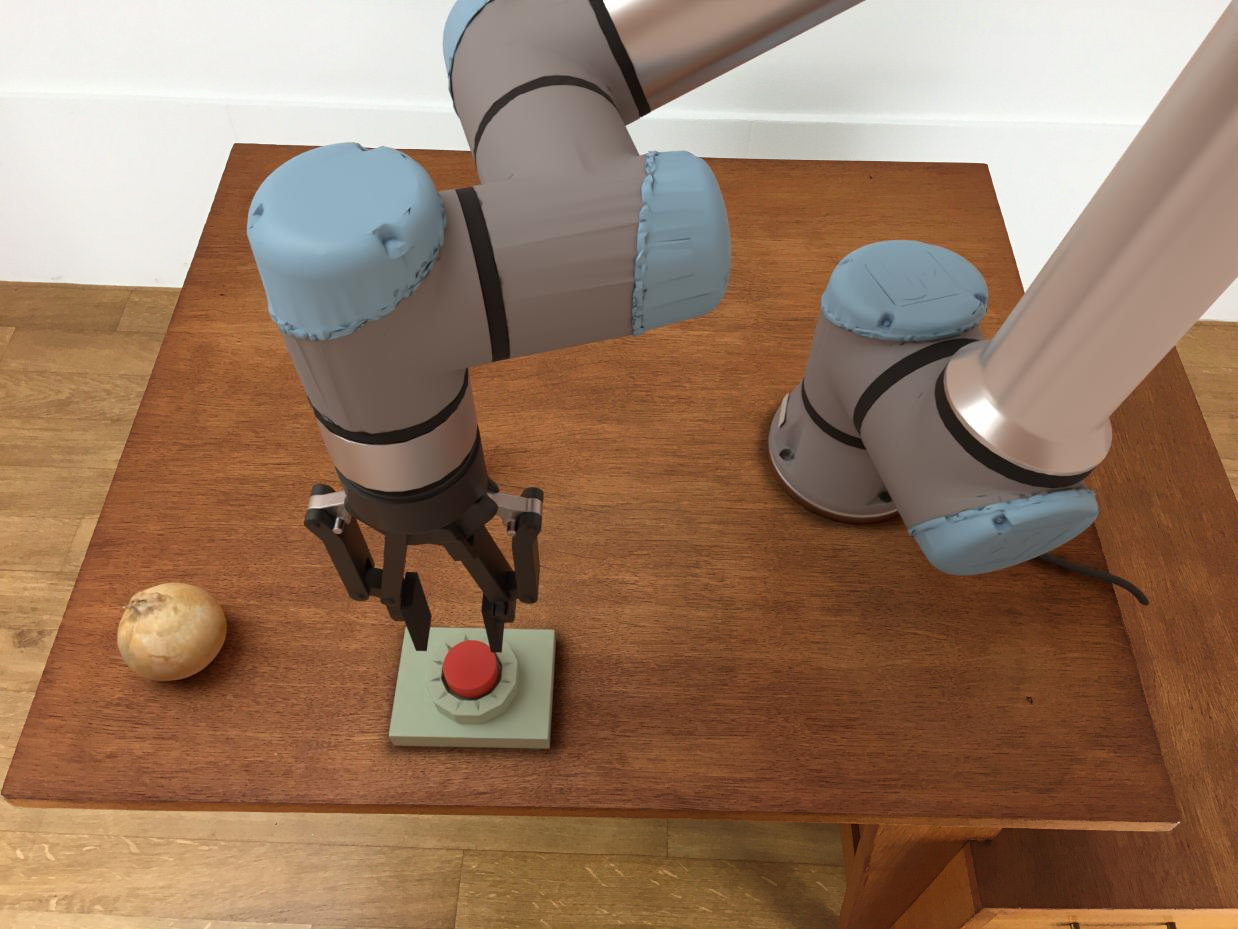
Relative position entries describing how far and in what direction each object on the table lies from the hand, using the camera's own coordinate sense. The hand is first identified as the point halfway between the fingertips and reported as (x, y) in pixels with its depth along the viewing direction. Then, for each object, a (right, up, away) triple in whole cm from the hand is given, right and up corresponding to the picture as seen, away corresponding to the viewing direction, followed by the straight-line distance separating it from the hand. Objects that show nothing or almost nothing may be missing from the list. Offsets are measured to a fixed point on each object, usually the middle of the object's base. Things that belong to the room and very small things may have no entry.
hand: (460, 633), depth 68 cm
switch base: (0, -6, +9) cm, 11 cm away
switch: (0, -4, +6) cm, 7 cm away
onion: (-24, -3, +11) cm, 27 cm away
